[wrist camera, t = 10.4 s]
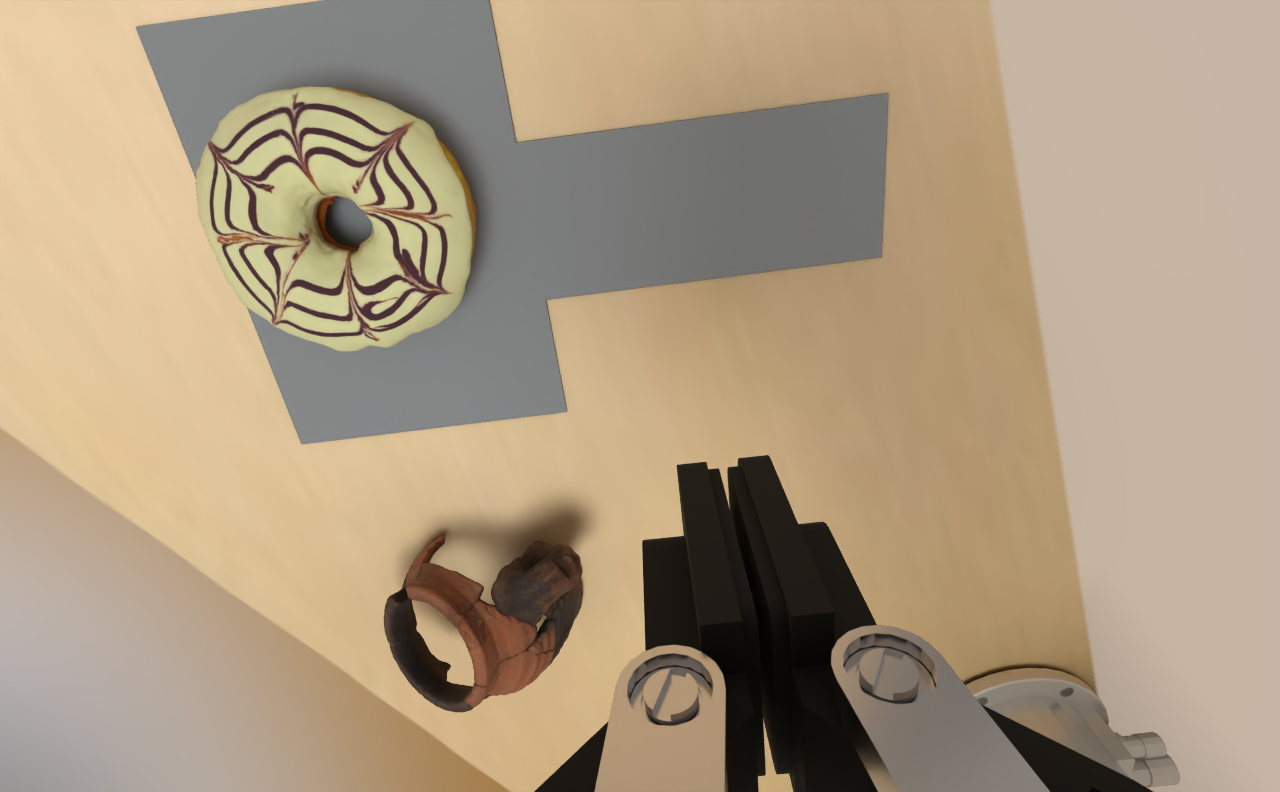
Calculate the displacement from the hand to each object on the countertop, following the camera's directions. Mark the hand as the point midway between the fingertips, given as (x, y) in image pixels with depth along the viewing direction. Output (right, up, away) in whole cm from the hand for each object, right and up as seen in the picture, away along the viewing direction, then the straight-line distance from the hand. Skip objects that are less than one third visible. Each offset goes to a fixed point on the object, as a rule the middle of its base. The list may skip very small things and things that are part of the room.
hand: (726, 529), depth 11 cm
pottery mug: (-9, -8, +25) cm, 28 cm away
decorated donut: (-14, +11, +17) cm, 24 cm away
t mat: (-6, +10, +17) cm, 21 cm away
